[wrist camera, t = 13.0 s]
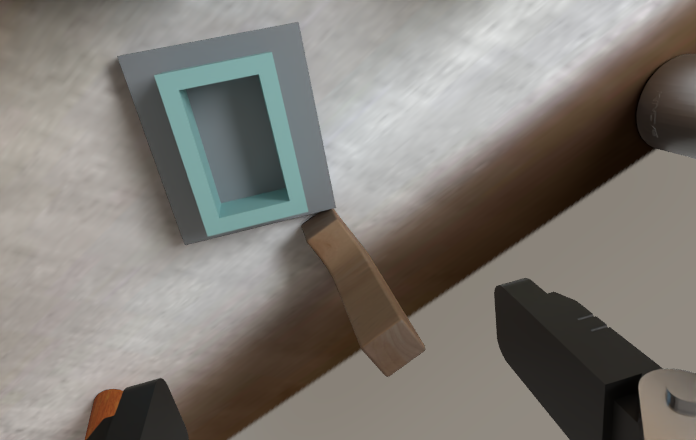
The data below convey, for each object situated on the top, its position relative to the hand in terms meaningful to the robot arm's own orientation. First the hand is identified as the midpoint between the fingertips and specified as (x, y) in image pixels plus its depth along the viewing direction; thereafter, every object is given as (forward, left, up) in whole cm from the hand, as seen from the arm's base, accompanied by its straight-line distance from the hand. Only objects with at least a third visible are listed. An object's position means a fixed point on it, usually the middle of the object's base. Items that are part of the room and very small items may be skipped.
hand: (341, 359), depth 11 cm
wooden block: (-4, +11, -29) cm, 31 cm away
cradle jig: (+3, -1, -29) cm, 29 cm away
